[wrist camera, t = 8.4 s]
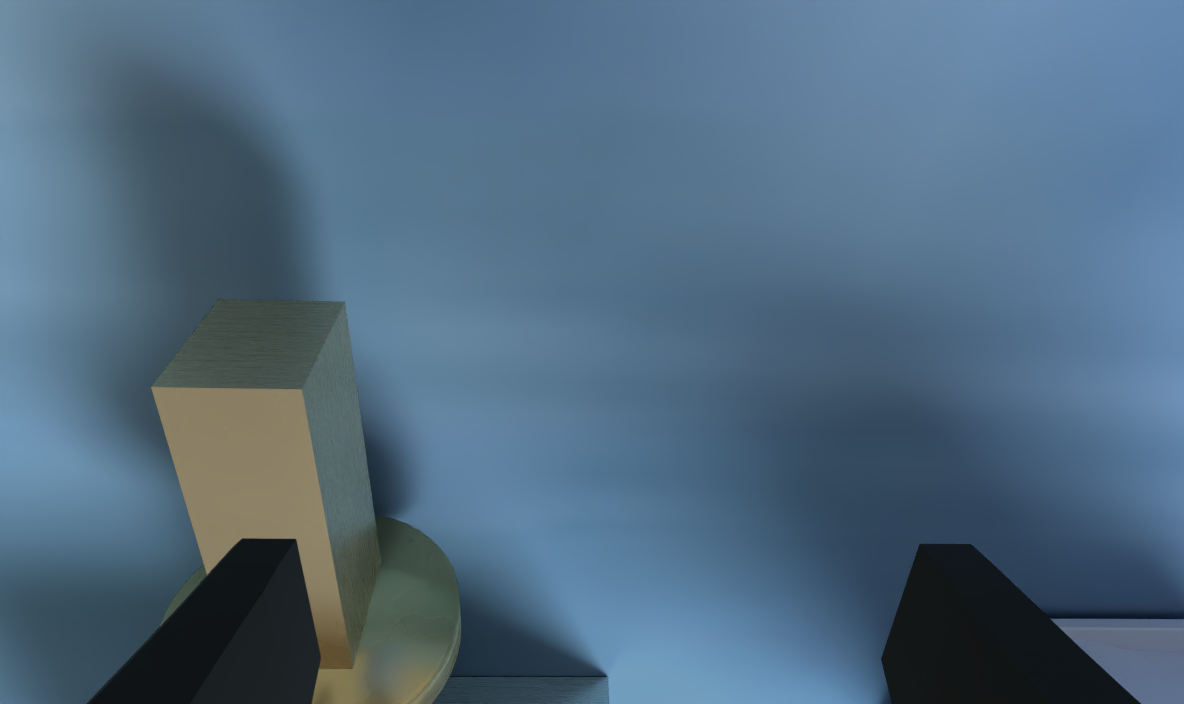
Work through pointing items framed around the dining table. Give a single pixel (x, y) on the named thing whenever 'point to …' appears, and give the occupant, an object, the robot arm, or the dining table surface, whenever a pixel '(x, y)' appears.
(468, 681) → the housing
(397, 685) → the gold trophy
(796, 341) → the dining table surface
